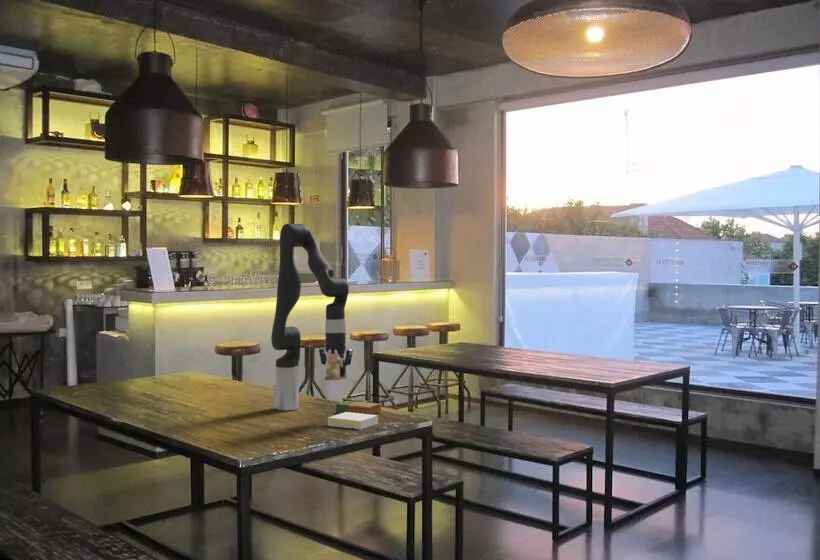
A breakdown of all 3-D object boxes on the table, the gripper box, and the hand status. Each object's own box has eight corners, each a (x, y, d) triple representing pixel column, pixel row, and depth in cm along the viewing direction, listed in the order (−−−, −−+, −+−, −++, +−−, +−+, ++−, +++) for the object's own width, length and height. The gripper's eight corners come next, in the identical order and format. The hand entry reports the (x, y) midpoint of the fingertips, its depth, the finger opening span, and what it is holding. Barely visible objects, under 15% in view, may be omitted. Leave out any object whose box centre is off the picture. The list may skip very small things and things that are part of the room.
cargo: (329, 362, 290) (329, 353, 290) (334, 361, 293) (334, 352, 293) (337, 363, 288) (337, 353, 288) (342, 362, 291) (342, 352, 291)
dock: (327, 425, 281) (327, 417, 281) (345, 419, 291) (345, 411, 291) (360, 429, 274) (360, 421, 274) (377, 423, 285) (377, 415, 285)
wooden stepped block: (324, 379, 288) (324, 363, 288) (335, 377, 295) (334, 361, 295) (336, 380, 286) (336, 363, 286) (346, 378, 292) (346, 361, 292)
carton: (370, 417, 298) (370, 406, 298) (335, 413, 305) (335, 403, 305) (381, 413, 305) (381, 403, 305) (347, 410, 313) (347, 399, 313)
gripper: (313, 331, 290) (314, 376, 290) (346, 332, 284) (346, 378, 284) (325, 330, 297) (325, 374, 297) (357, 331, 290) (357, 376, 290)
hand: (336, 376), depth 290 cm, fingers closed on wooden stepped block, 5 cm apart
